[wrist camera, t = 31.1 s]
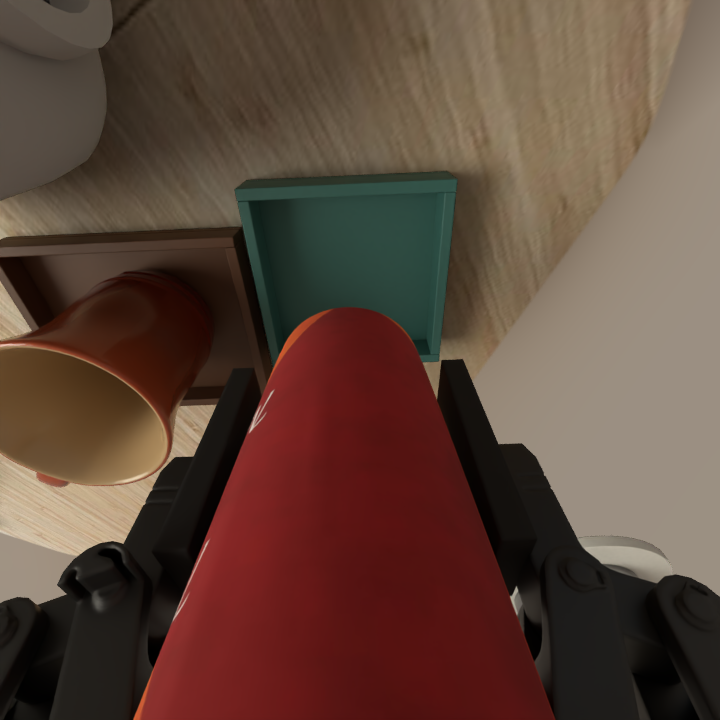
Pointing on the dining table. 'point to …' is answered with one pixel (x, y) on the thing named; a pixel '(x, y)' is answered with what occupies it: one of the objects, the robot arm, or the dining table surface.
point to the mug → (104, 381)
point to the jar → (50, 88)
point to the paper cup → (346, 557)
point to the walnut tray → (152, 252)
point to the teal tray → (351, 250)
